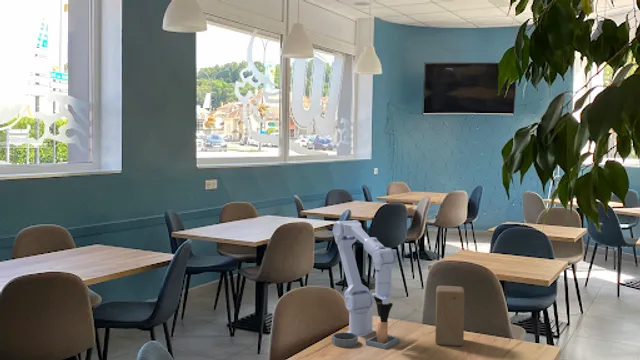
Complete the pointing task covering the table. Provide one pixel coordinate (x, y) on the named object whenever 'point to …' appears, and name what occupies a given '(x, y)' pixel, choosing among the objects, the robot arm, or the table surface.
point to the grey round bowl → (345, 339)
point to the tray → (374, 343)
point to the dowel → (382, 332)
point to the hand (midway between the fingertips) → (382, 319)
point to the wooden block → (449, 315)
